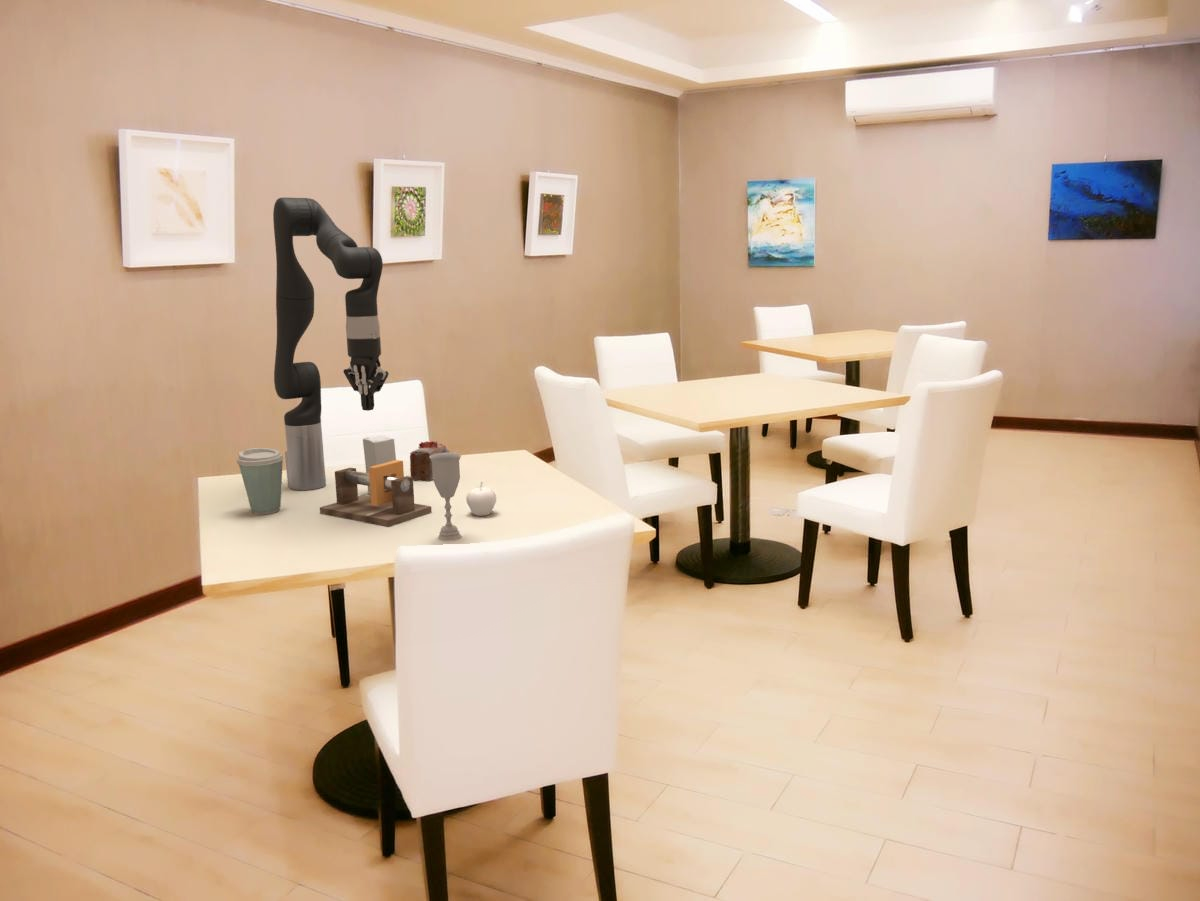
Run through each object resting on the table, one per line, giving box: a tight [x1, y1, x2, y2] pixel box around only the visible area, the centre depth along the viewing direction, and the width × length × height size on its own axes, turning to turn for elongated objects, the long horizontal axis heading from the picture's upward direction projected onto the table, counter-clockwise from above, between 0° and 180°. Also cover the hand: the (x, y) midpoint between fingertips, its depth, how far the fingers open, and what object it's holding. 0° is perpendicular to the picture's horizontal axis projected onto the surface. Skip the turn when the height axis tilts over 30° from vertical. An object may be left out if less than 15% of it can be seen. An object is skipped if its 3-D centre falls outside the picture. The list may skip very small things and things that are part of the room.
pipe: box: [344, 470, 410, 492], centre depth 229 cm, size 21×3×3 cm, turn 57°
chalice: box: [429, 452, 462, 541], centre depth 208 cm, size 7×7×18 cm
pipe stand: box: [319, 467, 432, 528], centre depth 230 cm, size 23×14×10 cm, turn 57°
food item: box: [409, 441, 450, 482], centre depth 268 cm, size 14×8×10 cm, turn 170°
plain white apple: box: [465, 481, 497, 517], centre depth 227 cm, size 7×7×8 cm
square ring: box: [369, 459, 405, 506], centre depth 227 cm, size 2×9×9 cm, turn 146°
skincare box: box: [362, 434, 397, 494], centre depth 247 cm, size 8×6×15 cm
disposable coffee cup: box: [236, 447, 284, 516], centre depth 232 cm, size 11×11×15 cm
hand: (368, 409), depth 226 cm, fingers closed
